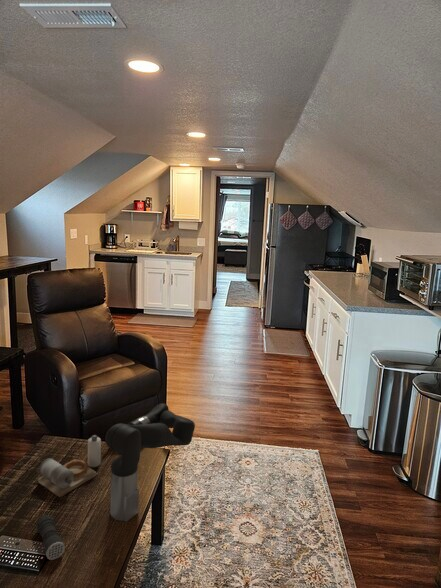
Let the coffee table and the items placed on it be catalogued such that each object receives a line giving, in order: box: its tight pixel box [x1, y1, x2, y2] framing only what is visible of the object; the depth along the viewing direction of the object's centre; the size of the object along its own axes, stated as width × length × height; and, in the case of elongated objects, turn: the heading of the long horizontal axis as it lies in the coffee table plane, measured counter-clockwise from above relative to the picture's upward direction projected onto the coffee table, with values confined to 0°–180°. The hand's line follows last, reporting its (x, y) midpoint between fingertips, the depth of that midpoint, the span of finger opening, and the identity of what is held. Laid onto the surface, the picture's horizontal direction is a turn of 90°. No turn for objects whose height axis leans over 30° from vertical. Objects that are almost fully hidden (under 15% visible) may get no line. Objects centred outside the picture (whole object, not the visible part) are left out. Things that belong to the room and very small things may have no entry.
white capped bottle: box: [87, 434, 102, 468], centre depth 174 cm, size 5×5×13 cm
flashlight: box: [35, 514, 66, 561], centre depth 132 cm, size 15×5×5 cm, turn 36°
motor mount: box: [37, 457, 97, 498], centre depth 163 cm, size 15×17×8 cm
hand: (112, 441), depth 182 cm, fingers open, 8 cm apart
